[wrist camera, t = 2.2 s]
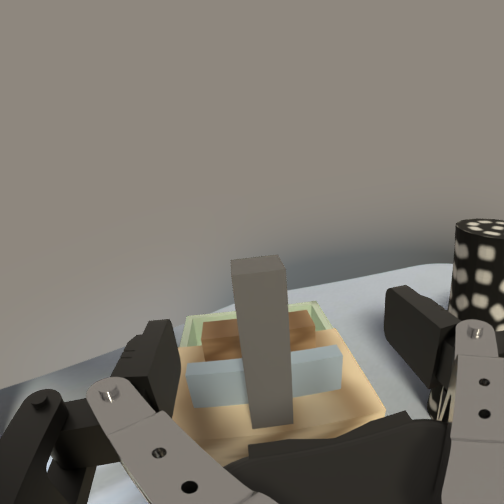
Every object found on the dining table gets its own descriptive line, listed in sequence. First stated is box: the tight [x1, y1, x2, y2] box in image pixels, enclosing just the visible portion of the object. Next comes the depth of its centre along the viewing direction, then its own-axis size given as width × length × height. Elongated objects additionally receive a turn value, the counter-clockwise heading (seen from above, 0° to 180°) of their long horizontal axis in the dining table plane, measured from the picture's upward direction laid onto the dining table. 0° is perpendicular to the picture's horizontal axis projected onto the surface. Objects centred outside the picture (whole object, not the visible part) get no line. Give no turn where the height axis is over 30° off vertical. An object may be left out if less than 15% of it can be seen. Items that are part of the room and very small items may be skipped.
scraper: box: [185, 255, 343, 429], centre depth 25 cm, size 14×6×14 cm, turn 94°
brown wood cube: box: [201, 319, 242, 362], centre depth 35 cm, size 4×4×4 cm
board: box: [172, 328, 386, 467], centre depth 32 cm, size 20×16×5 cm
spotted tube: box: [427, 219, 504, 420], centre depth 24 cm, size 8×8×20 cm
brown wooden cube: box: [288, 310, 316, 352], centre depth 35 cm, size 4×4×4 cm
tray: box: [180, 301, 333, 347], centre depth 45 cm, size 20×10×4 cm, turn 94°
